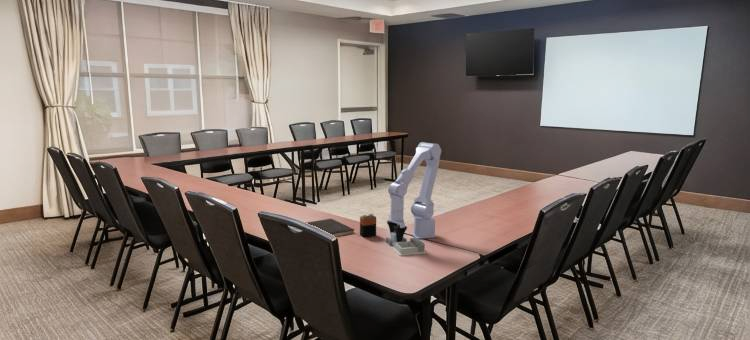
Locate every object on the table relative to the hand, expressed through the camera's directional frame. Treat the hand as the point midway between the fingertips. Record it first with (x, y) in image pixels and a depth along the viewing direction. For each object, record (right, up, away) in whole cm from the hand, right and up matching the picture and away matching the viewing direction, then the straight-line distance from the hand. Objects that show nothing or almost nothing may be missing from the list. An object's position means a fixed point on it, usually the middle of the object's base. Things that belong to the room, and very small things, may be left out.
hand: (396, 238), depth 201 cm
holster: (0, -2, 0) cm, 2 cm away
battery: (-13, 0, +11) cm, 17 cm away
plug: (0, -2, 0) cm, 2 cm away
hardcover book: (-32, +1, +19) cm, 38 cm away
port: (+5, -3, -9) cm, 11 cm away
